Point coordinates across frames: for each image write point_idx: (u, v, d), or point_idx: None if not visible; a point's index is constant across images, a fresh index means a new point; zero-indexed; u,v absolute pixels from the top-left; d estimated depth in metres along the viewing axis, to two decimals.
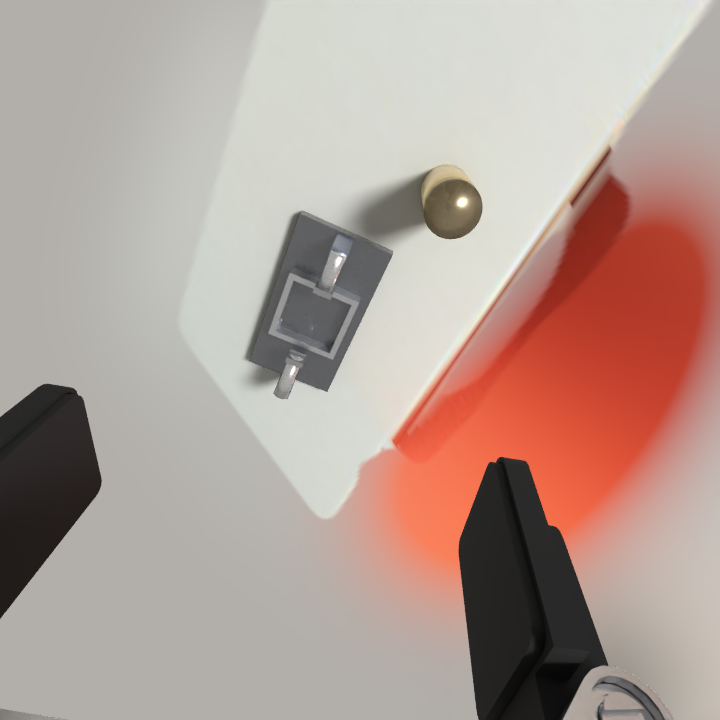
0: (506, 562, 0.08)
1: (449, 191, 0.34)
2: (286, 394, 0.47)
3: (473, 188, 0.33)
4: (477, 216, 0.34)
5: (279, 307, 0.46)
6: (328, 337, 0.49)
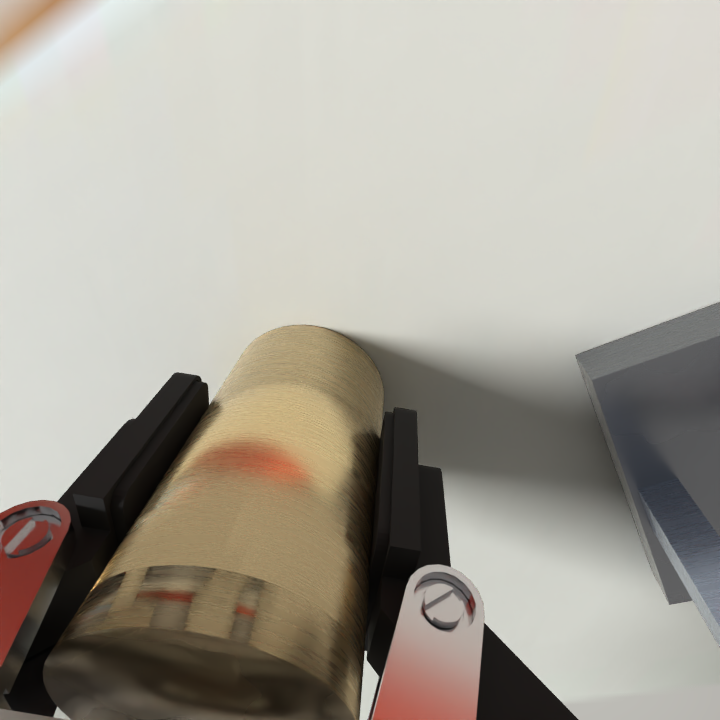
0: (378, 490, 0.09)
1: None
2: None
3: (71, 715, 0.07)
4: (83, 649, 0.06)
5: None
6: None
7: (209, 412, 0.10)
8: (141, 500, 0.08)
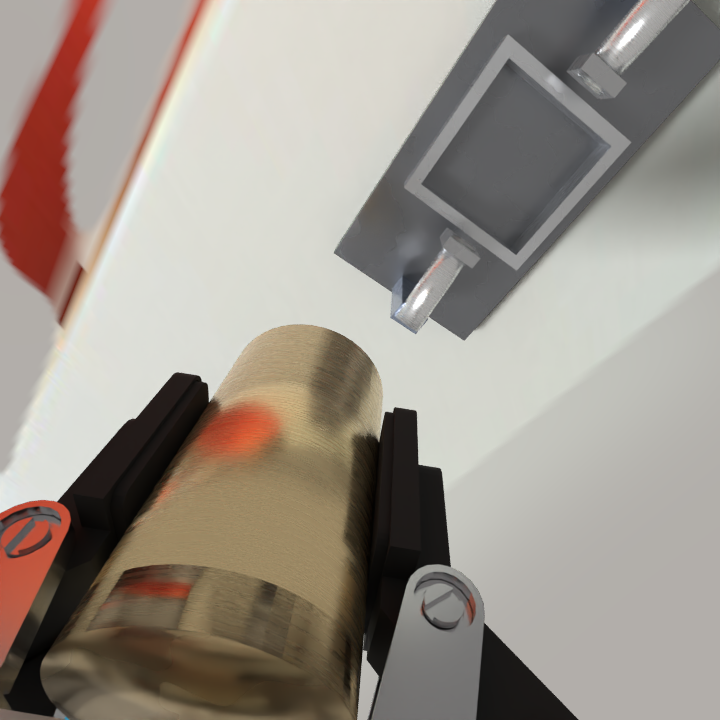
0: (378, 490, 0.09)
1: None
2: None
3: (69, 714, 0.07)
4: (80, 649, 0.06)
5: (571, 203, 0.22)
6: (500, 90, 0.21)
7: (207, 412, 0.09)
8: (141, 500, 0.08)
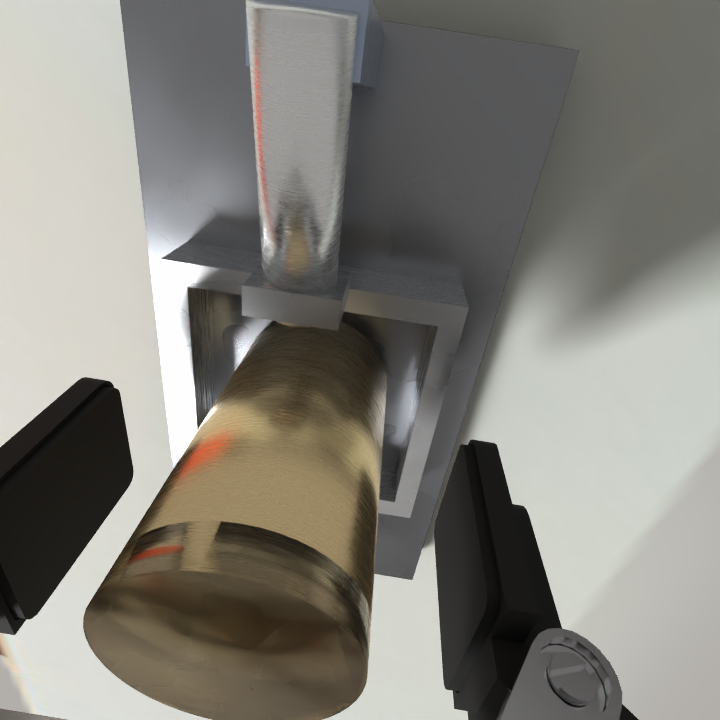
0: (470, 536, 0.08)
1: (206, 698, 0.08)
2: (255, 61, 0.06)
3: (106, 662, 0.07)
4: (122, 594, 0.06)
5: (430, 419, 0.12)
6: (236, 301, 0.13)
7: (225, 394, 0.10)
8: (17, 517, 0.08)
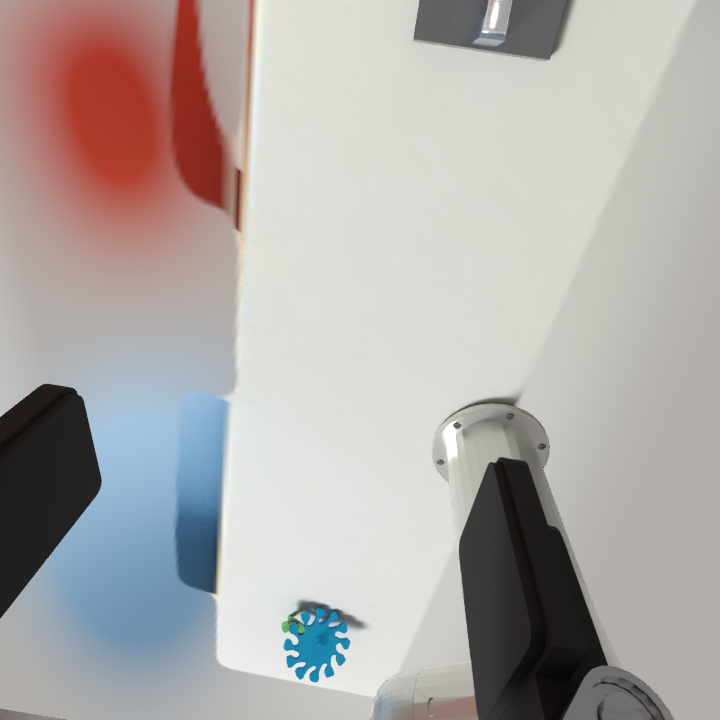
0: (506, 562, 0.08)
1: None
2: None
3: None
4: None
5: None
6: None
7: None
8: None
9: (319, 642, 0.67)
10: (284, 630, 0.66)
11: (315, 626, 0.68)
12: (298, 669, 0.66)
